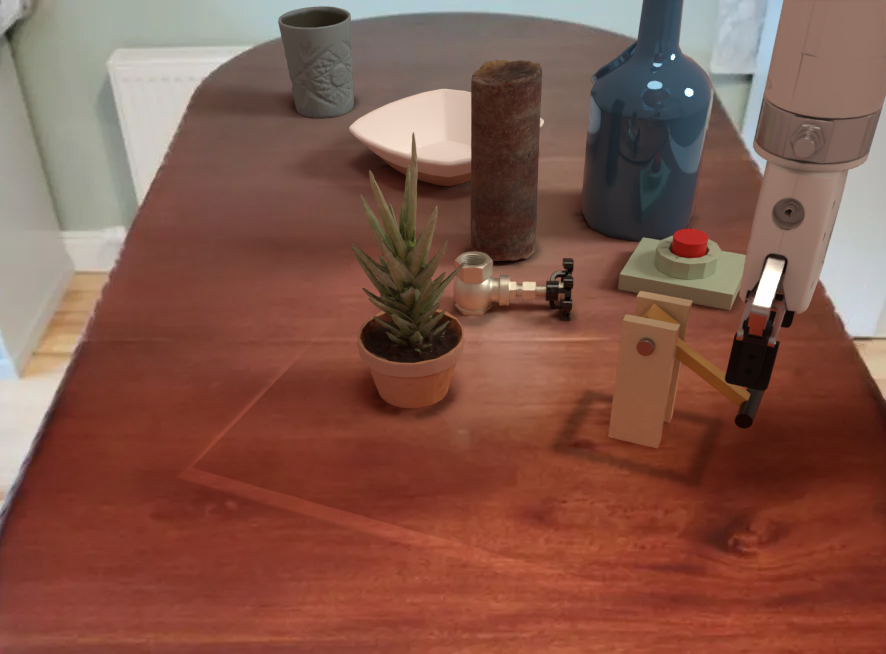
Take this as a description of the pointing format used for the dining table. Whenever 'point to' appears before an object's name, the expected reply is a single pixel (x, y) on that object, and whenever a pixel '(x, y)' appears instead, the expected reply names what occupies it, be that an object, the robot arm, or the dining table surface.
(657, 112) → the wine bottle
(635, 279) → the button block
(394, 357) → the potted plant
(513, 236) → the brown textured cylinder
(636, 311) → the bracket
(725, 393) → the lever
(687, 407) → the dining table surface
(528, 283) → the valve
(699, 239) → the button
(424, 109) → the bowl
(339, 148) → the dining table surface
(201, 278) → the dining table surface
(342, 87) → the grey embossed cup
